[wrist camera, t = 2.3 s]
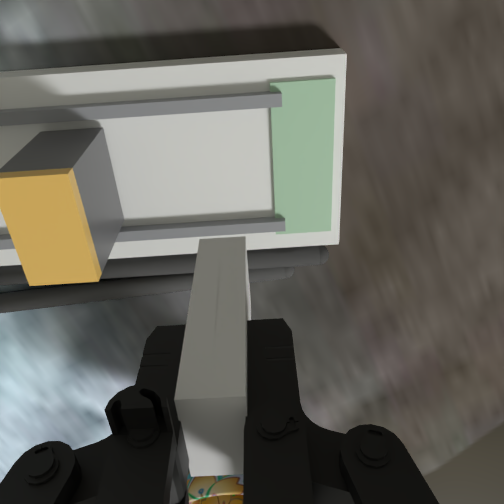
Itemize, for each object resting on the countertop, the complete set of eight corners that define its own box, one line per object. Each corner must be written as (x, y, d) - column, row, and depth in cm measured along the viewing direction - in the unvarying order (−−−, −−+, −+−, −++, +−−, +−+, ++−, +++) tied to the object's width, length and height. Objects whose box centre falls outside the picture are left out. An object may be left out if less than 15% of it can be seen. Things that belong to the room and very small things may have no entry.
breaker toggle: (68, 223, 26) (29, 285, 21) (40, 131, 23) (-12, 179, 18) (124, 219, 26) (98, 281, 21) (102, 127, 23) (67, 173, 18)
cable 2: (-68, 314, 31) (-79, 326, 30) (-78, 299, 30) (-89, 311, 29) (294, 269, 30) (296, 281, 29) (292, 253, 29) (294, 264, 28)
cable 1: (-86, 283, 29) (-97, 295, 28) (-94, 267, 29) (-107, 279, 28) (326, 257, 29) (330, 268, 28) (327, 240, 28) (330, 250, 27)
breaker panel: (-106, 259, 28) (-128, 280, 27) (-200, 85, 23) (-237, 96, 21) (334, 230, 28) (340, 249, 26) (340, 48, 23) (349, 56, 21)
